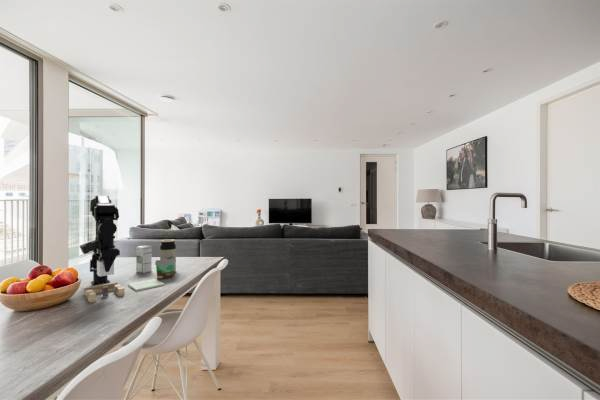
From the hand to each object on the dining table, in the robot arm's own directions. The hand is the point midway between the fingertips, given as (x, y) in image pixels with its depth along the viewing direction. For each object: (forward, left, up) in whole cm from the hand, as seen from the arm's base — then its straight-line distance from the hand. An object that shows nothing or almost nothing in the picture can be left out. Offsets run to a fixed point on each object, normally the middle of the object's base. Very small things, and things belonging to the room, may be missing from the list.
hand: (105, 270), depth 117 cm
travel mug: (-22, +34, -11) cm, 42 cm away
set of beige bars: (-3, 0, -11) cm, 11 cm away
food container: (-11, +30, -11) cm, 34 cm away
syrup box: (-33, +25, -11) cm, 43 cm away
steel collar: (0, 0, -2) cm, 2 cm away
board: (-4, +17, -11) cm, 21 cm away
